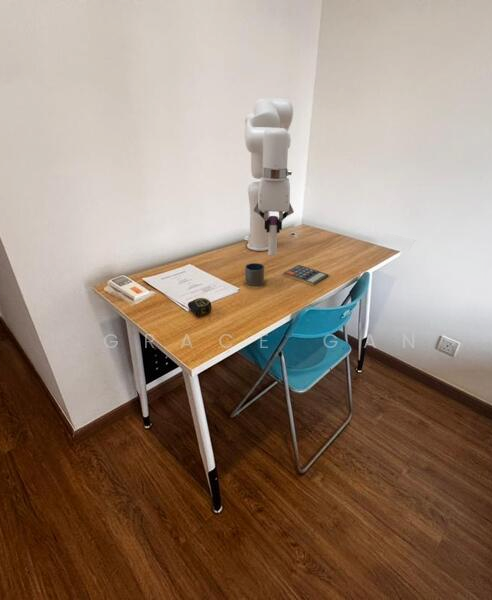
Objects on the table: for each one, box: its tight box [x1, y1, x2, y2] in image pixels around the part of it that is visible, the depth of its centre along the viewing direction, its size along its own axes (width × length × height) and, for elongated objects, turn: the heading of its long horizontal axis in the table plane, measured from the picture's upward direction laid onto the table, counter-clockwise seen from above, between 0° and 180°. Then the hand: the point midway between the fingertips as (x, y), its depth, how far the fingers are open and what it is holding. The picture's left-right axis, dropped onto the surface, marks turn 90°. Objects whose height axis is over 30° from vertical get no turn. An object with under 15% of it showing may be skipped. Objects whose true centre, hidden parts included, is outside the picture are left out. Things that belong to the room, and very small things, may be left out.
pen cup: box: [244, 262, 265, 288], centre depth 125 cm, size 7×7×8 cm
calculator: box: [283, 264, 329, 286], centre depth 135 cm, size 12×1×15 cm
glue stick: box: [267, 215, 279, 256], centre depth 109 cm, size 3×3×13 cm
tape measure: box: [187, 297, 212, 317], centre depth 107 cm, size 7×7×4 cm
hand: (273, 231), depth 109 cm, fingers closed on glue stick, 3 cm apart
